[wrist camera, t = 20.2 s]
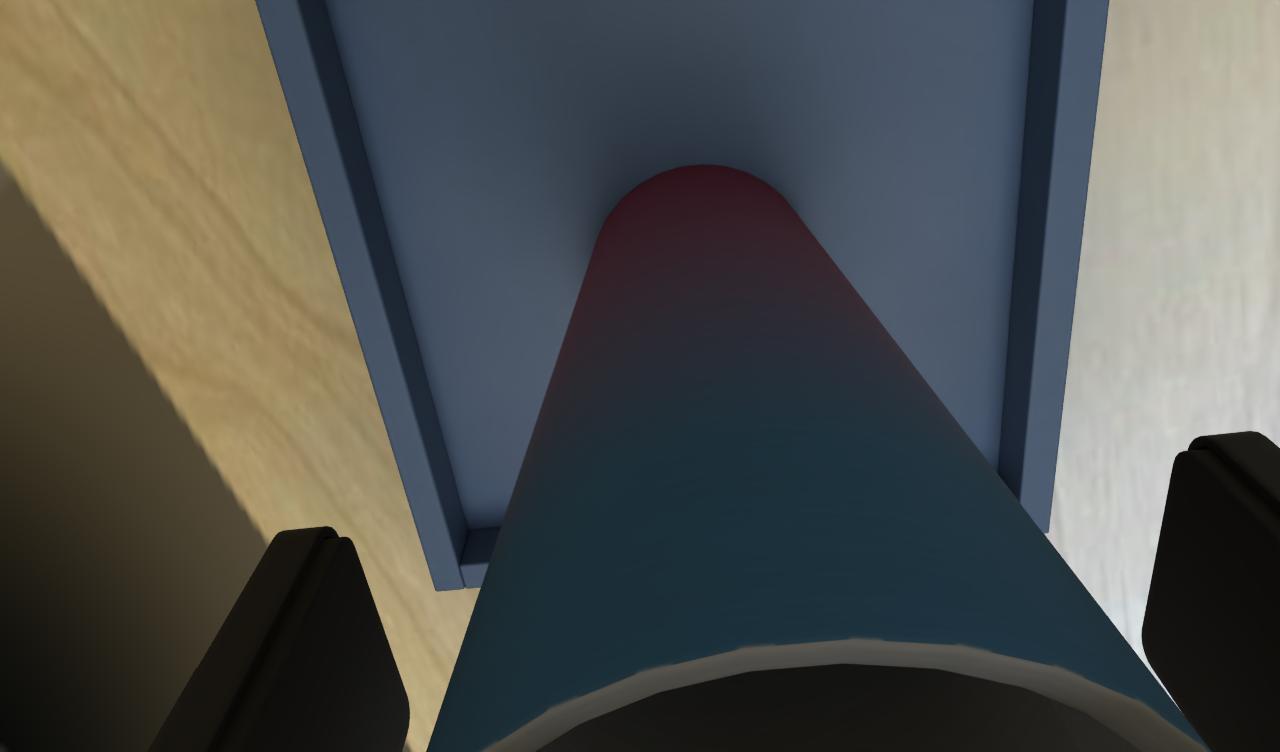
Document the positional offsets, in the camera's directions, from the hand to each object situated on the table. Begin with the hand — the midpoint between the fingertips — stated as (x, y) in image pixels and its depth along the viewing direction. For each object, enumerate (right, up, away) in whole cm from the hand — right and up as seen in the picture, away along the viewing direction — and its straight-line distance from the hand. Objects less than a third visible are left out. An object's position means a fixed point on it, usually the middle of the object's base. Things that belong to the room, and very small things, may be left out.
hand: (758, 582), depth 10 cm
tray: (0, +5, +10) cm, 12 cm away
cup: (0, +5, +10) cm, 11 cm away
